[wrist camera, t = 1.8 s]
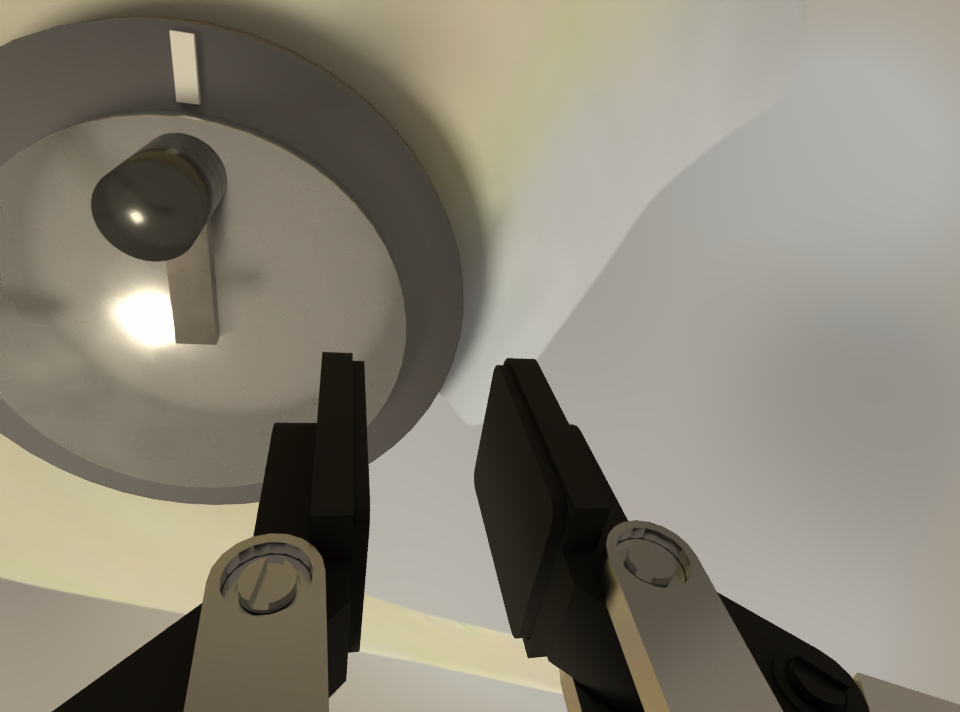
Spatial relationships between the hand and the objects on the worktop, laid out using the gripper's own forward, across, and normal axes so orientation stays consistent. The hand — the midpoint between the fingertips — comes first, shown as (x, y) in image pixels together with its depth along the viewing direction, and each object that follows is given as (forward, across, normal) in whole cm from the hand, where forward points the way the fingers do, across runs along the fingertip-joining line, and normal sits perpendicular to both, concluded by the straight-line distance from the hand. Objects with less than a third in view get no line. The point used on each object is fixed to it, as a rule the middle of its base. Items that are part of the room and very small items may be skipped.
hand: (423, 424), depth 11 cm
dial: (+17, +7, +7) cm, 20 cm away
